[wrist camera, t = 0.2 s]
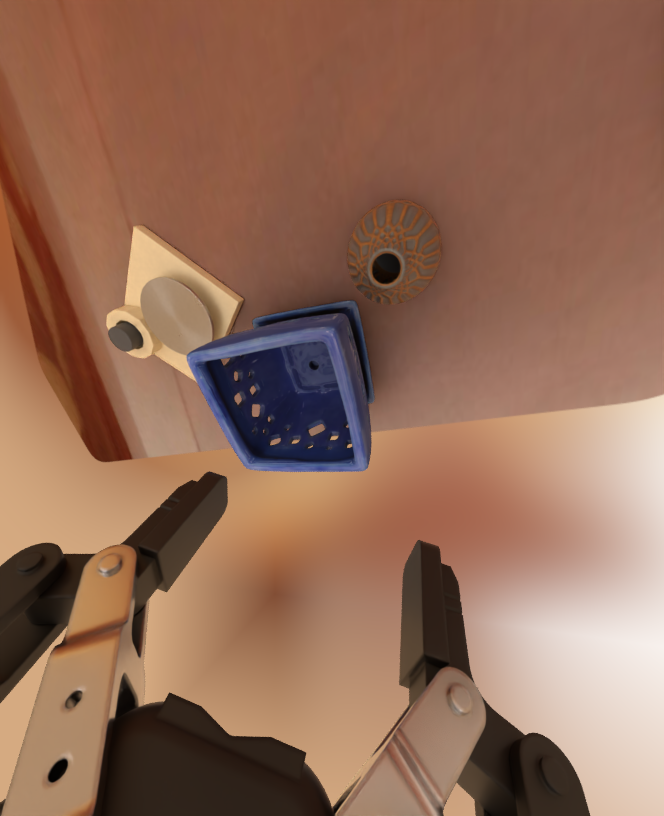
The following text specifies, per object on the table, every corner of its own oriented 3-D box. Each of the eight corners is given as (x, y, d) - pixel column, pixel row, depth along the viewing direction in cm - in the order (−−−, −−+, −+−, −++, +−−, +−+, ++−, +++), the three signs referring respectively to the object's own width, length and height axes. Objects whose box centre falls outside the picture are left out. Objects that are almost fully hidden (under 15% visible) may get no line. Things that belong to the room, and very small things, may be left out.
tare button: (121, 316, 33) (108, 321, 32) (145, 332, 34) (133, 338, 33) (119, 335, 35) (107, 341, 34) (141, 350, 36) (130, 356, 34)
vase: (361, 294, 28) (341, 327, 21) (352, 208, 24) (323, 215, 17) (438, 285, 26) (442, 318, 19) (440, 190, 22) (447, 188, 15)
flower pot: (247, 306, 32) (173, 353, 22) (366, 280, 27) (335, 326, 18) (287, 406, 39) (243, 473, 29) (387, 398, 34) (373, 476, 25)
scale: (138, 221, 29) (113, 224, 27) (244, 299, 31) (229, 307, 29) (124, 329, 38) (105, 338, 36) (207, 384, 40) (194, 396, 38)
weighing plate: (149, 258, 28) (146, 258, 28) (224, 312, 29) (222, 313, 29) (138, 324, 33) (135, 325, 33) (202, 367, 34) (201, 369, 34)
